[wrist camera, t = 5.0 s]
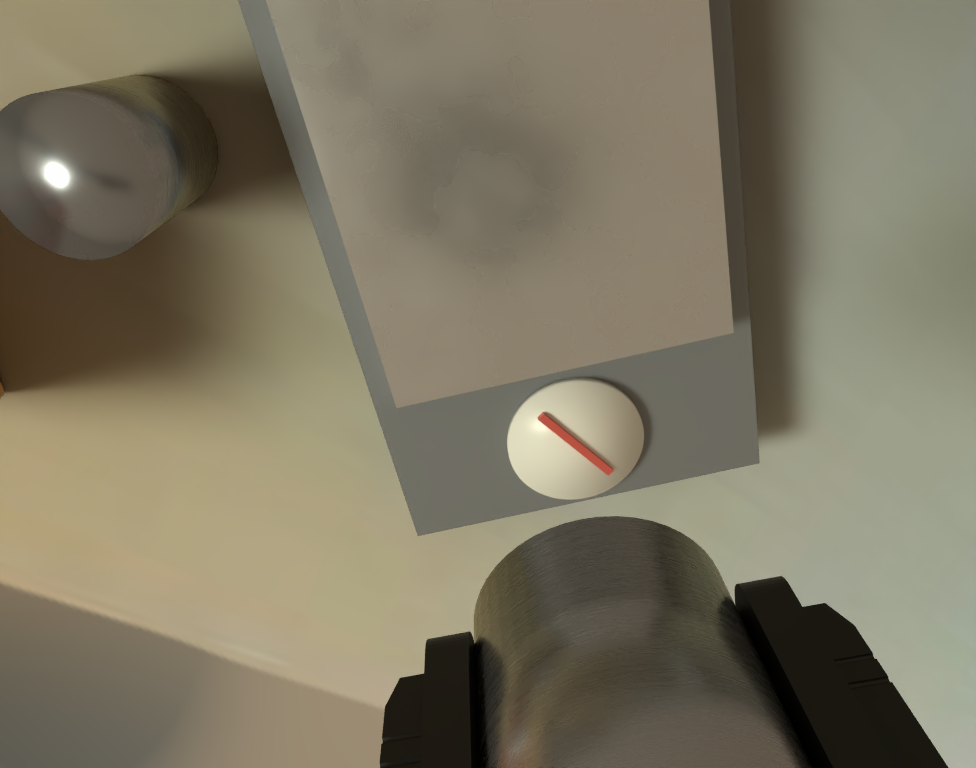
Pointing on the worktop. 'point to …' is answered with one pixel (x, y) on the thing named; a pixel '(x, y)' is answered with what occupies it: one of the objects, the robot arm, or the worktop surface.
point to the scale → (558, 396)
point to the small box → (1, 390)
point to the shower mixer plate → (517, 179)
